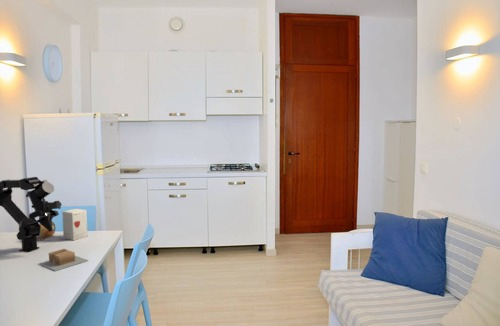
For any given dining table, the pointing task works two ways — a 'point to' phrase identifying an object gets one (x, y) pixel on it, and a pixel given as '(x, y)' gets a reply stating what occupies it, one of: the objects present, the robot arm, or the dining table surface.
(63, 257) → the walnut block
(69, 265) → the mat
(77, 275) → the dining table surface
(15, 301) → the dining table surface
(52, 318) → the dining table surface
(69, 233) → the supplement box
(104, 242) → the dining table surface
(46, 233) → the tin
